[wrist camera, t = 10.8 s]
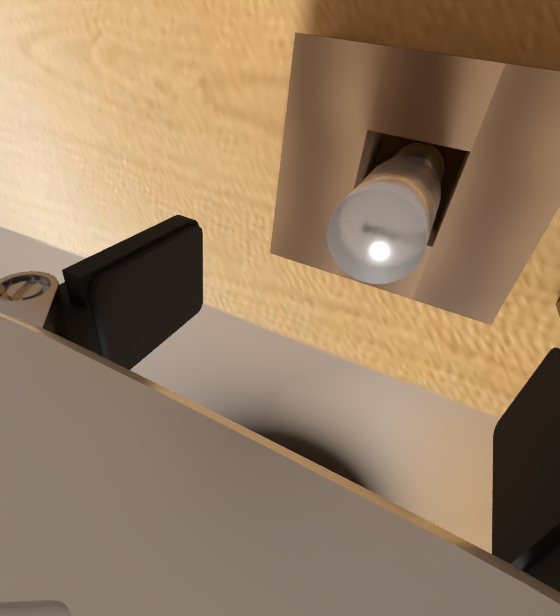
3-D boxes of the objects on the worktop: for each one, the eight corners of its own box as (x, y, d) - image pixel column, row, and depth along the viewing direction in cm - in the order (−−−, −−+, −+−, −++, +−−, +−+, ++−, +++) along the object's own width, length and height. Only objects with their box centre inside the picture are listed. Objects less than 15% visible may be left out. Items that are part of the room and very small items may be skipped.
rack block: (600, 77, 18) (631, 82, 14) (489, 284, 25) (490, 324, 22) (328, 37, 22) (295, 32, 18) (298, 227, 29) (270, 252, 25)
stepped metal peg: (437, 124, 22) (404, 171, 13) (458, 185, 23) (441, 268, 14) (376, 155, 24) (311, 213, 15) (398, 209, 25) (350, 294, 16)
